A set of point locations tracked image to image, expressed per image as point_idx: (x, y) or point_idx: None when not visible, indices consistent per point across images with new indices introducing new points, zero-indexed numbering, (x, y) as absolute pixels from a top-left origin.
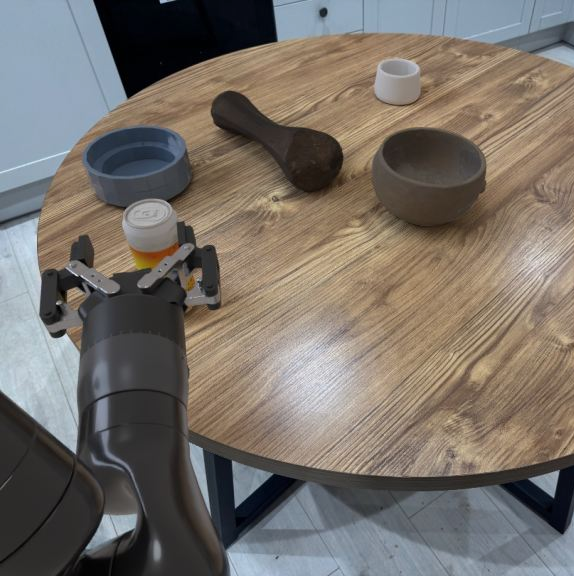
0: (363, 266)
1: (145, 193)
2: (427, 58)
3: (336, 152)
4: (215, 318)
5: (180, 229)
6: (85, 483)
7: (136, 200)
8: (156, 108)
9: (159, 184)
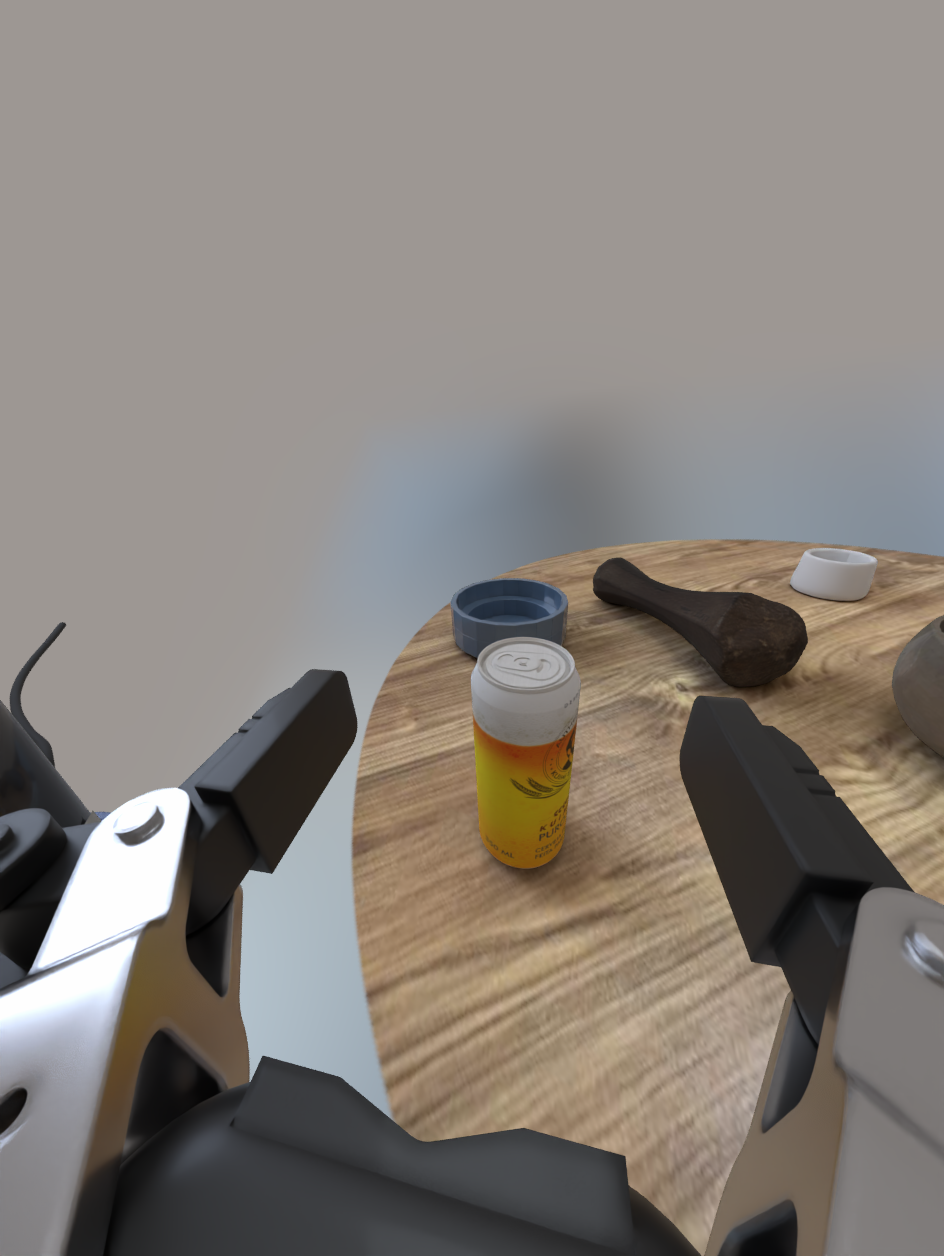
0: (936, 877)
1: None
2: None
3: (802, 635)
4: (594, 904)
5: (751, 742)
6: None
7: None
8: (532, 576)
9: None
